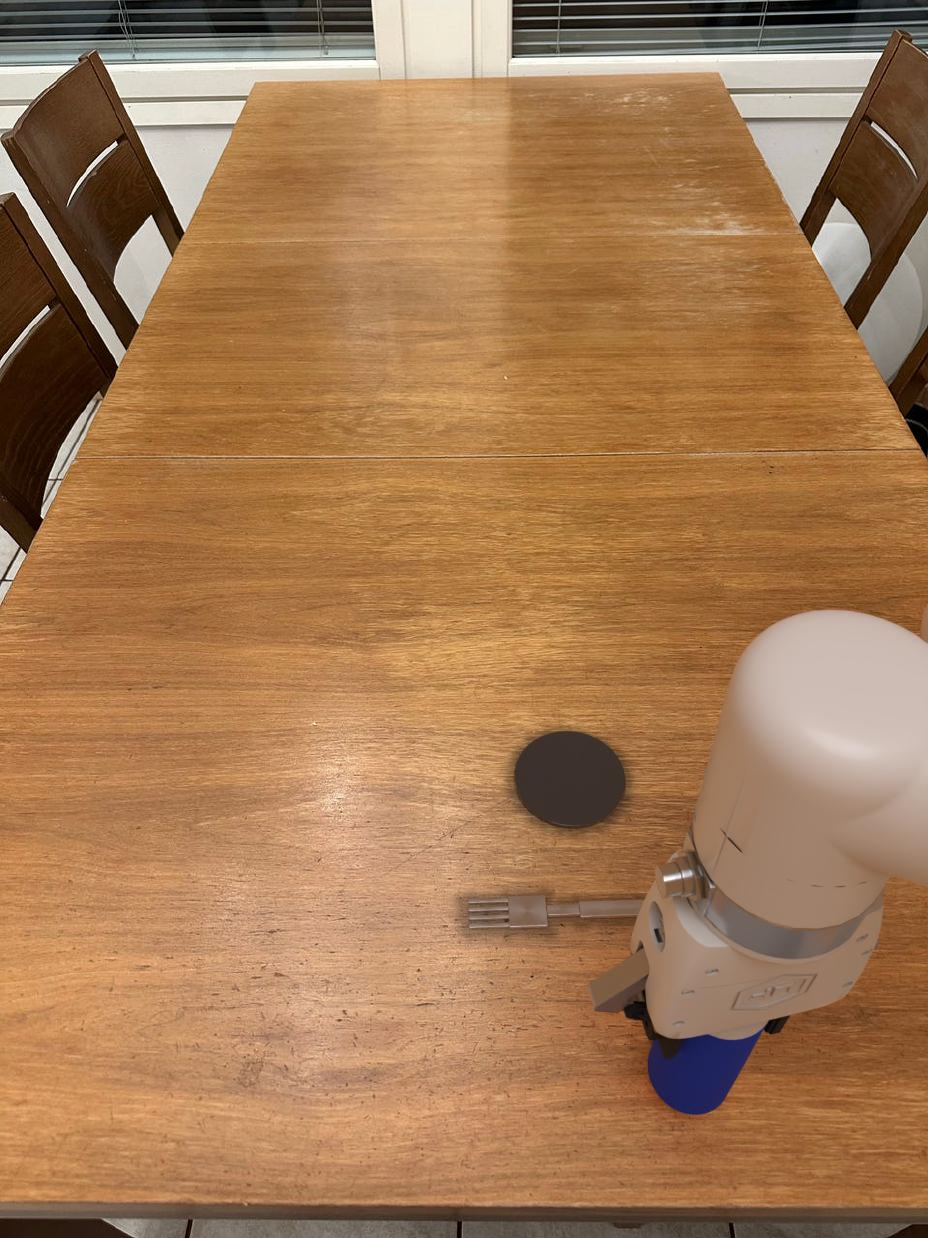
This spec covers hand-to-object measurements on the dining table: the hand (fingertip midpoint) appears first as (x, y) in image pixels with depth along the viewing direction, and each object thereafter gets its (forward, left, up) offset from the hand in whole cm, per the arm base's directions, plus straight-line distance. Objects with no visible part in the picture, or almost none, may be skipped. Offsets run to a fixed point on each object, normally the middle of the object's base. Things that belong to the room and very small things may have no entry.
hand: (711, 1017), depth 52 cm
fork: (+10, -8, -12) cm, 18 cm away
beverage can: (0, 0, -10) cm, 10 cm away
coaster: (+16, -18, -12) cm, 27 cm away
